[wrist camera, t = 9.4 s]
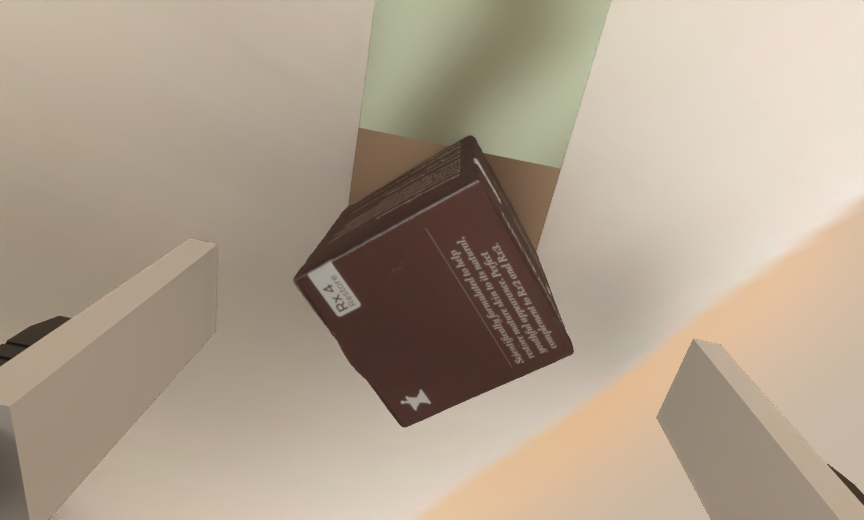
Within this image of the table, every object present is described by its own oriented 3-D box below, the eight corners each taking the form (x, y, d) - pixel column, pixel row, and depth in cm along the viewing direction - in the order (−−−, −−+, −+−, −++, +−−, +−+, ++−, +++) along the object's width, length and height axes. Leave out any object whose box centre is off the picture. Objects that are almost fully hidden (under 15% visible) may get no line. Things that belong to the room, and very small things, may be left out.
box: (540, 258, 21) (581, 358, 14) (417, 318, 22) (401, 435, 16) (472, 129, 19) (481, 175, 12) (342, 203, 20) (286, 281, 14)
